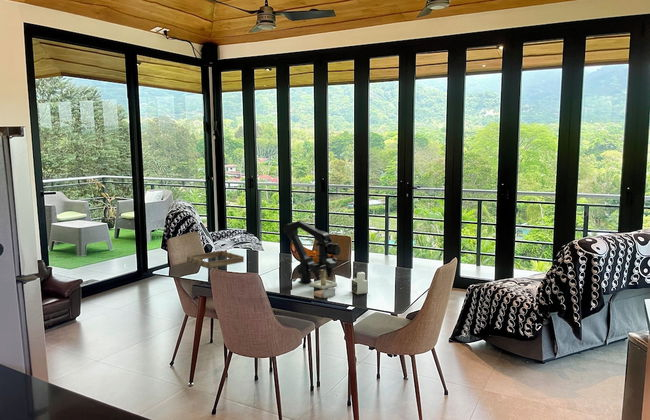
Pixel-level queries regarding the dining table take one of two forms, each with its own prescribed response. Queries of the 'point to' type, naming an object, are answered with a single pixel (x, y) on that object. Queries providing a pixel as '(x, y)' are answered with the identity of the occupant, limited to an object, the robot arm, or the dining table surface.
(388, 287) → the dining table surface
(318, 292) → the peach rectangular block
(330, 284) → the tray
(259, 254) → the dining table surface
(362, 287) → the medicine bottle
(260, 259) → the dining table surface
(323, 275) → the dowel
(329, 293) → the grey sanding sponge
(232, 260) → the frame
